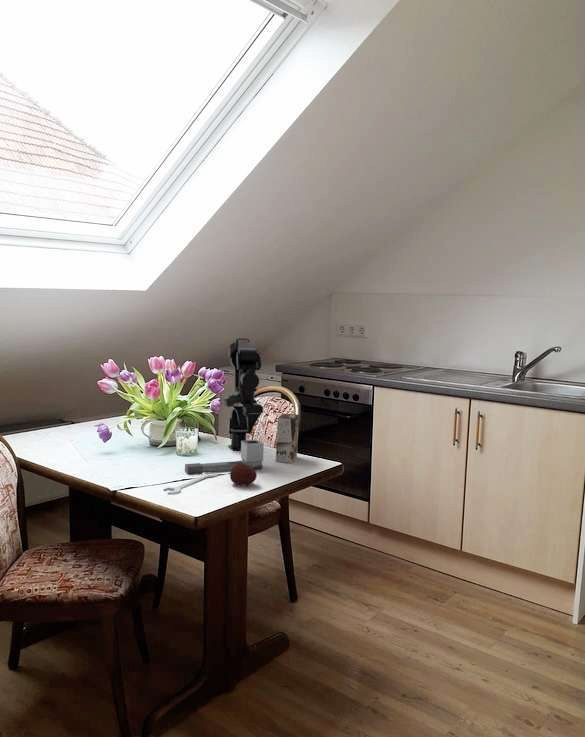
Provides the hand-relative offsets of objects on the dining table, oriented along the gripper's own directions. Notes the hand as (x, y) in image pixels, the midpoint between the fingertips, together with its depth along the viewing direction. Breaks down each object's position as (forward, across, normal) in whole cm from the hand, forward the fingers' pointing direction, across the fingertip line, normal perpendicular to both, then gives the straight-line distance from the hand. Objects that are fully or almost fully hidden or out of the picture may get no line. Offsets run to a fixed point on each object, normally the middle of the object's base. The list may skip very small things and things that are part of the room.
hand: (245, 428), depth 231 cm
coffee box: (+12, +1, +16) cm, 20 cm away
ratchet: (+12, +8, -10) cm, 17 cm away
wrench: (+13, +19, -24) cm, 33 cm away
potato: (+12, +25, -9) cm, 29 cm away
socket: (+9, +8, 0) cm, 12 cm away
